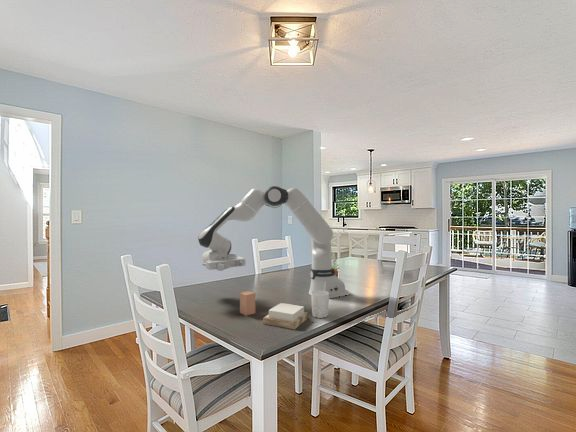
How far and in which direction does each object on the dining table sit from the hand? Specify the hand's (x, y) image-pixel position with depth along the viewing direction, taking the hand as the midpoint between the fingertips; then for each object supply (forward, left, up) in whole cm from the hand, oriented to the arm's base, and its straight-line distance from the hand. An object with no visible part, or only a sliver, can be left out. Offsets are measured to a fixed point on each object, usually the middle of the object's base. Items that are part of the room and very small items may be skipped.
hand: (233, 265), depth 144 cm
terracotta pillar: (-5, +11, -20) cm, 23 cm away
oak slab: (-19, +25, -20) cm, 37 cm away
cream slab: (-19, +25, -17) cm, 36 cm away
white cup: (-35, +23, -20) cm, 46 cm away
